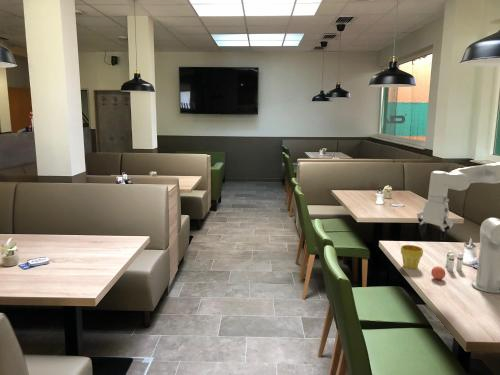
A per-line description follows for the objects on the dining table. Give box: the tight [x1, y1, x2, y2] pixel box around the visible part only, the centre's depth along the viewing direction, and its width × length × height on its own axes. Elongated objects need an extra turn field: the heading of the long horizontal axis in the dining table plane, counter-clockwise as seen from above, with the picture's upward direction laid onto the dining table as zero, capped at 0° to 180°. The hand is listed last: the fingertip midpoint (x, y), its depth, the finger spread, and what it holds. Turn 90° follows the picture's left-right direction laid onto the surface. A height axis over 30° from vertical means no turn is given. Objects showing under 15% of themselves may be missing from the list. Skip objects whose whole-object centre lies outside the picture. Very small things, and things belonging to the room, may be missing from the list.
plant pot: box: [400, 244, 424, 270], centre depth 204 cm, size 10×10×10 cm
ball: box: [430, 266, 446, 280], centre depth 189 cm, size 6×6×6 cm
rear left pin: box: [445, 250, 454, 269], centre depth 204 cm, size 2×2×8 cm
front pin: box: [447, 253, 456, 272], centre depth 199 cm, size 2×2×8 cm
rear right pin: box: [455, 252, 464, 272], centre depth 200 cm, size 2×2×8 cm
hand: (432, 236), depth 182 cm, fingers open, 9 cm apart
